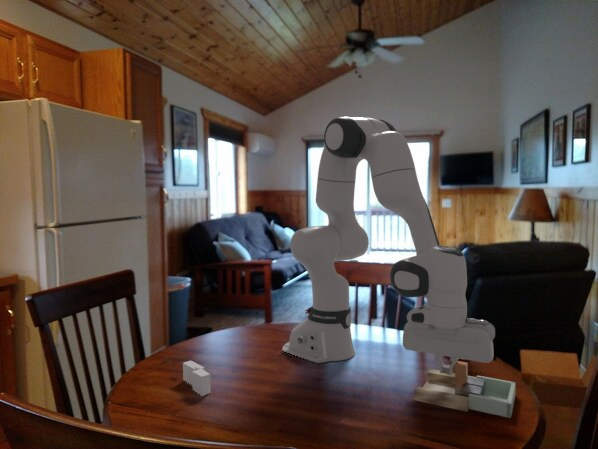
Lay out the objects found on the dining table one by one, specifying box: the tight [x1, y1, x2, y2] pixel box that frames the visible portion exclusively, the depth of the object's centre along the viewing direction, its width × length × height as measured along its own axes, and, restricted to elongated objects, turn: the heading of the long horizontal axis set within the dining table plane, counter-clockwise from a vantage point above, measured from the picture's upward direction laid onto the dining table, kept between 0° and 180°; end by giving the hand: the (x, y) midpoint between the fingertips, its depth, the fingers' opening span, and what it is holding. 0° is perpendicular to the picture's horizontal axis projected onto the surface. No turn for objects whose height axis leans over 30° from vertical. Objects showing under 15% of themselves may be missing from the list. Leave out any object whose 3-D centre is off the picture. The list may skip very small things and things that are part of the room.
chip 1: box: [460, 384, 482, 397], centre depth 98 cm, size 4×4×3 cm
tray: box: [468, 375, 517, 419], centre depth 98 cm, size 8×12×4 cm
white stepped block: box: [182, 360, 212, 397], centre depth 109 cm, size 15×11×6 cm
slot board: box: [413, 368, 477, 413], centre depth 103 cm, size 12×15×3 cm
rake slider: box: [454, 360, 469, 395], centre depth 101 cm, size 2×9×7 cm, turn 150°
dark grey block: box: [466, 376, 485, 396], centre depth 102 cm, size 4×4×3 cm
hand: (446, 373), depth 103 cm, fingers closed
